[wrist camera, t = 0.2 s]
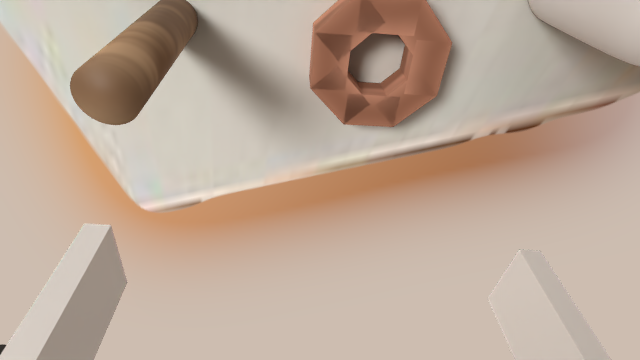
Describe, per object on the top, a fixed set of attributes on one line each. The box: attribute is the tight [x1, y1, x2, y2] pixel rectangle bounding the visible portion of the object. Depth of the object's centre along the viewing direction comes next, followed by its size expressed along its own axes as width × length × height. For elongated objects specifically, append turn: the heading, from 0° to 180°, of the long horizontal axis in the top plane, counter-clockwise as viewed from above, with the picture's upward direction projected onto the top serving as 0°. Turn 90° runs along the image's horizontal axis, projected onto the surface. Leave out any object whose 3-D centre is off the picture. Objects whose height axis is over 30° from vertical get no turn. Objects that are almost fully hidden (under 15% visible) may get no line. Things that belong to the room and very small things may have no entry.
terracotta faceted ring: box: [309, 0, 452, 127], centre depth 35 cm, size 12×12×3 cm
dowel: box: [70, 0, 198, 125], centre depth 27 cm, size 4×4×16 cm
